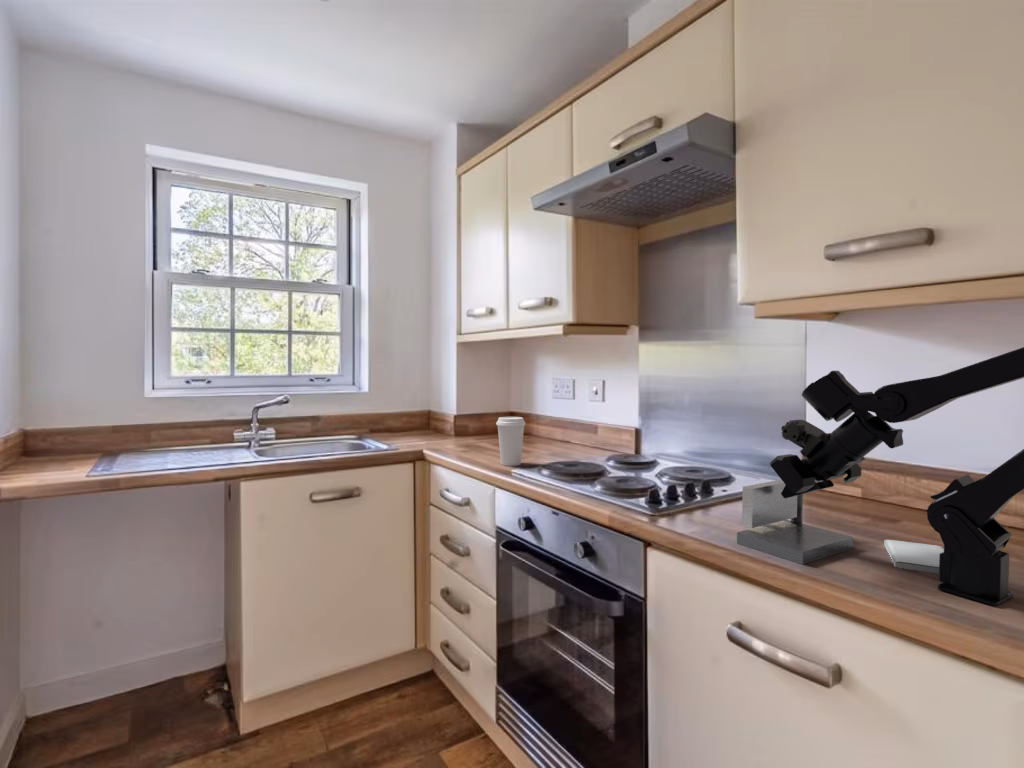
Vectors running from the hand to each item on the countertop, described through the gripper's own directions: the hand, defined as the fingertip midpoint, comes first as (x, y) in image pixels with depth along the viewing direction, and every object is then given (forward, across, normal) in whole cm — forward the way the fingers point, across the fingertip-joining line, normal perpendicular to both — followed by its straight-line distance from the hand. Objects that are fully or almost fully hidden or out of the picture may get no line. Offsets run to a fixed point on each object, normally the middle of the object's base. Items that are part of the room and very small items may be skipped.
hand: (783, 495), depth 97 cm
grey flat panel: (+5, 0, +2) cm, 6 cm away
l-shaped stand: (+4, 0, +8) cm, 9 cm away
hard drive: (-6, -10, +18) cm, 22 cm away
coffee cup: (+70, +4, -58) cm, 91 cm away
